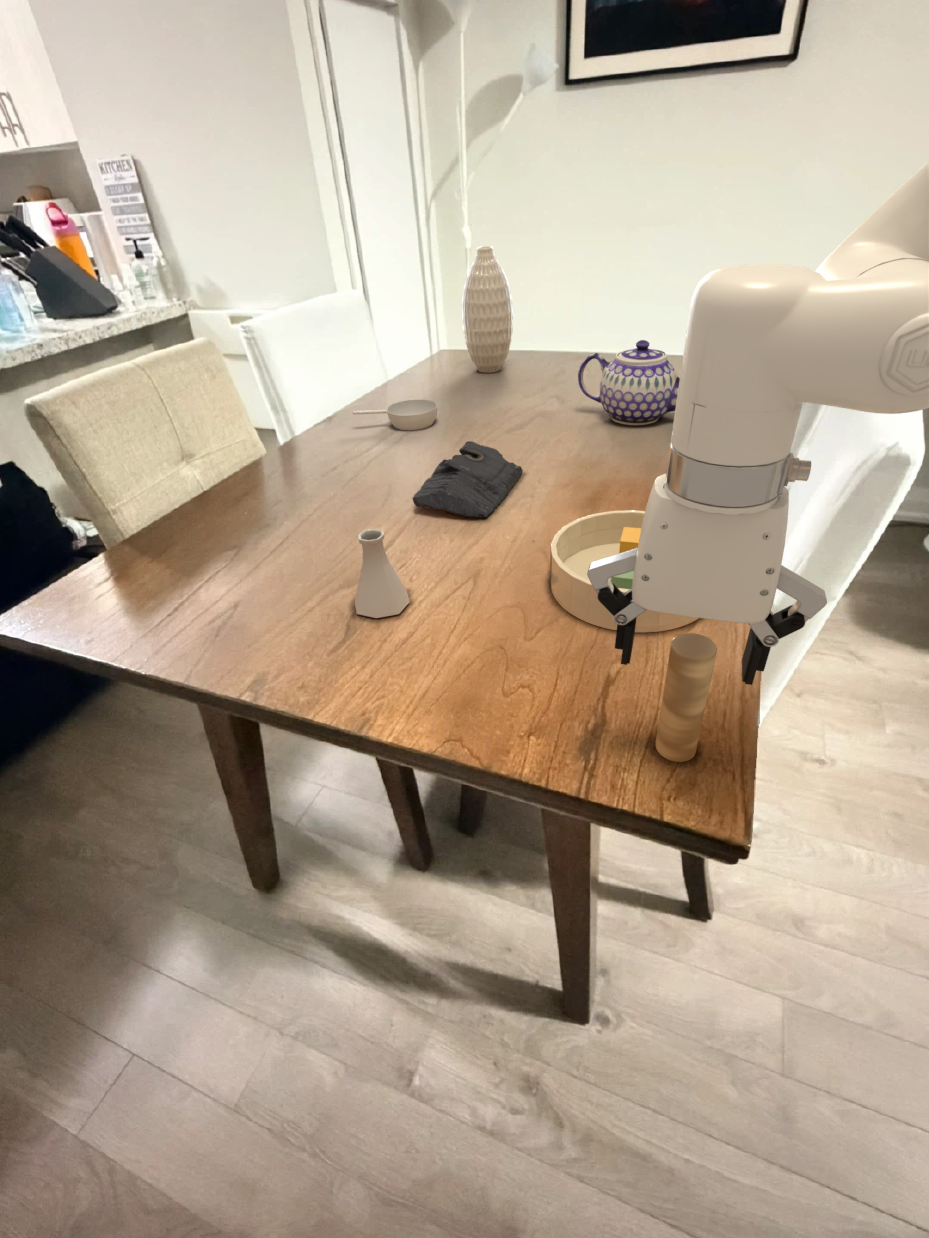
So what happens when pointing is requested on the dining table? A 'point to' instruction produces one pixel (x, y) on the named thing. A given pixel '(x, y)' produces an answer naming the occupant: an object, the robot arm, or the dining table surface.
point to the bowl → (572, 562)
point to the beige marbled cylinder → (685, 695)
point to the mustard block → (629, 539)
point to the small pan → (408, 414)
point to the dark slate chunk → (469, 482)
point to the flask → (378, 580)
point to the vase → (487, 312)
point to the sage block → (623, 580)
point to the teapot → (635, 385)
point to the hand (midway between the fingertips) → (685, 663)
